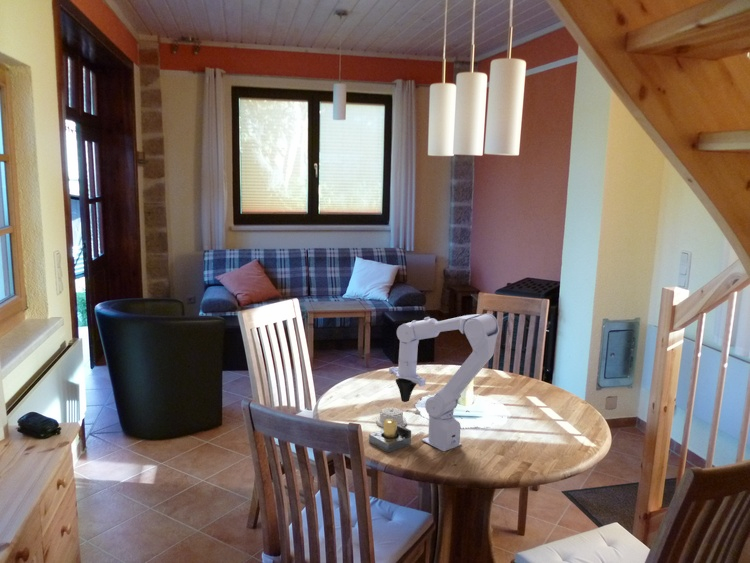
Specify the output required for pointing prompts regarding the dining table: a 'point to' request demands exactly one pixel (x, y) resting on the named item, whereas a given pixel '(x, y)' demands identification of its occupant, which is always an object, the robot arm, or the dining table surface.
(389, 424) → the brass cylinder rod
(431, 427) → the robot arm
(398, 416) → the mechanical component
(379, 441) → the jig
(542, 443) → the dining table surface
